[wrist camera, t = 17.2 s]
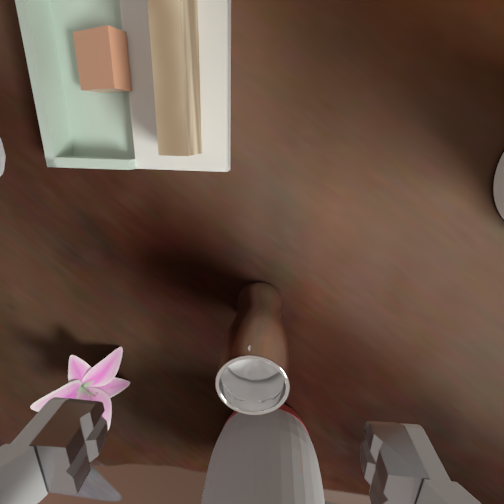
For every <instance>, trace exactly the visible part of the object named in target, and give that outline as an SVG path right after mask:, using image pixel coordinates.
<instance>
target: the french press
mask: <svg viewBox="0 0 504 504" xmlns="http://www.w3.org/2000/svg"><path fill="white" fill-rule="evenodd" d="M5 157H6V156H5V152H4V148H3V144H2V140H1V138H0V176H1V175H2V173H3V172H4V166H5Z"/></svg>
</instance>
